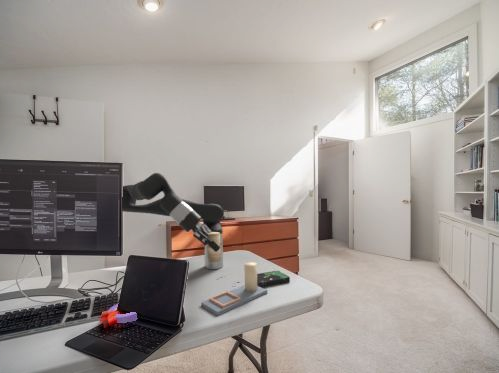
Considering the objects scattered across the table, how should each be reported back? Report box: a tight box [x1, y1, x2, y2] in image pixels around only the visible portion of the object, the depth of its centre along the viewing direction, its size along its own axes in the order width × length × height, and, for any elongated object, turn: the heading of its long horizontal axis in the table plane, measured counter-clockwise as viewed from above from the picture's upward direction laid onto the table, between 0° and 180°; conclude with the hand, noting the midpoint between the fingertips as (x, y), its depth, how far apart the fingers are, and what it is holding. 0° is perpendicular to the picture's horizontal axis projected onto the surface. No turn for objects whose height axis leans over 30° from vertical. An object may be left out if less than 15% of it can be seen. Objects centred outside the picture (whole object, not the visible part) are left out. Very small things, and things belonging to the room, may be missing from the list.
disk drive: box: [257, 270, 291, 288], centre depth 113 cm, size 10×3×15 cm
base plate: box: [200, 262, 268, 316], centre depth 96 cm, size 10×24×11 cm, turn 133°
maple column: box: [207, 232, 221, 262], centre depth 95 cm, size 5×5×10 cm
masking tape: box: [107, 303, 138, 323], centre depth 84 cm, size 12×12×4 cm
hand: (218, 247), depth 95 cm, fingers closed on maple column, 5 cm apart
